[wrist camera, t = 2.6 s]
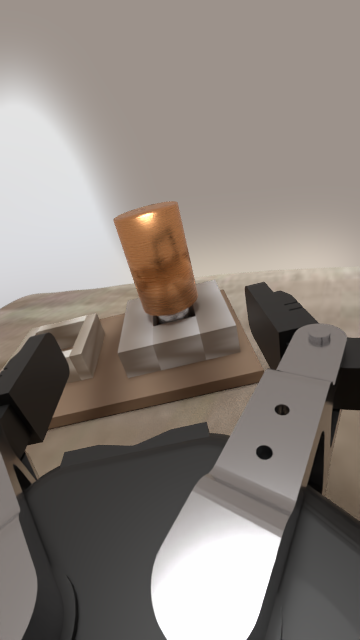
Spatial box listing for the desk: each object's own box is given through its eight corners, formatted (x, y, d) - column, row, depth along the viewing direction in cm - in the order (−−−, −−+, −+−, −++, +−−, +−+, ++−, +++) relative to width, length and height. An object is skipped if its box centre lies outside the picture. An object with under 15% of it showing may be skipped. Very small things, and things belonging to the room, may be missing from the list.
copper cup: (201, 315, 29) (175, 198, 23) (209, 343, 24) (179, 207, 19) (154, 327, 29) (117, 213, 23) (154, 356, 25) (109, 226, 19)
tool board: (224, 297, 33) (219, 268, 31) (264, 380, 21) (260, 341, 19) (39, 341, 34) (25, 316, 32) (-25, 445, 22) (-54, 413, 20)
